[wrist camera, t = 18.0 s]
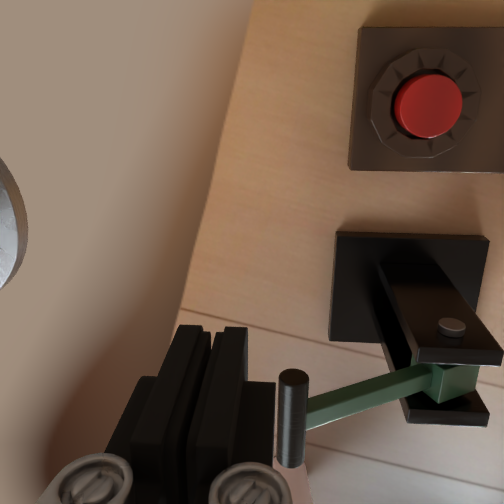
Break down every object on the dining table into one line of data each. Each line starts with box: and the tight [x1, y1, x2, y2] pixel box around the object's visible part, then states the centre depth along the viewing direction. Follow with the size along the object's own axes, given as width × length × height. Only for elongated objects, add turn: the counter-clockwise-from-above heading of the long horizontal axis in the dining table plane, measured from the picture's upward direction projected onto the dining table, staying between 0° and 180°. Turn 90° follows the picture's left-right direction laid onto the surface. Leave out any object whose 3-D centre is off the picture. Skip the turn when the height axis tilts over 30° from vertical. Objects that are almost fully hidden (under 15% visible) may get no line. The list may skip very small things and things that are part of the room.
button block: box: [348, 27, 504, 174], centre depth 31 cm, size 12×9×4 cm
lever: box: [276, 354, 480, 469], centre depth 26 cm, size 12×5×2 cm, turn 90°
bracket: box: [328, 231, 504, 427], centre depth 32 cm, size 11×9×13 cm
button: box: [394, 74, 462, 138], centre depth 29 cm, size 4×4×2 cm
